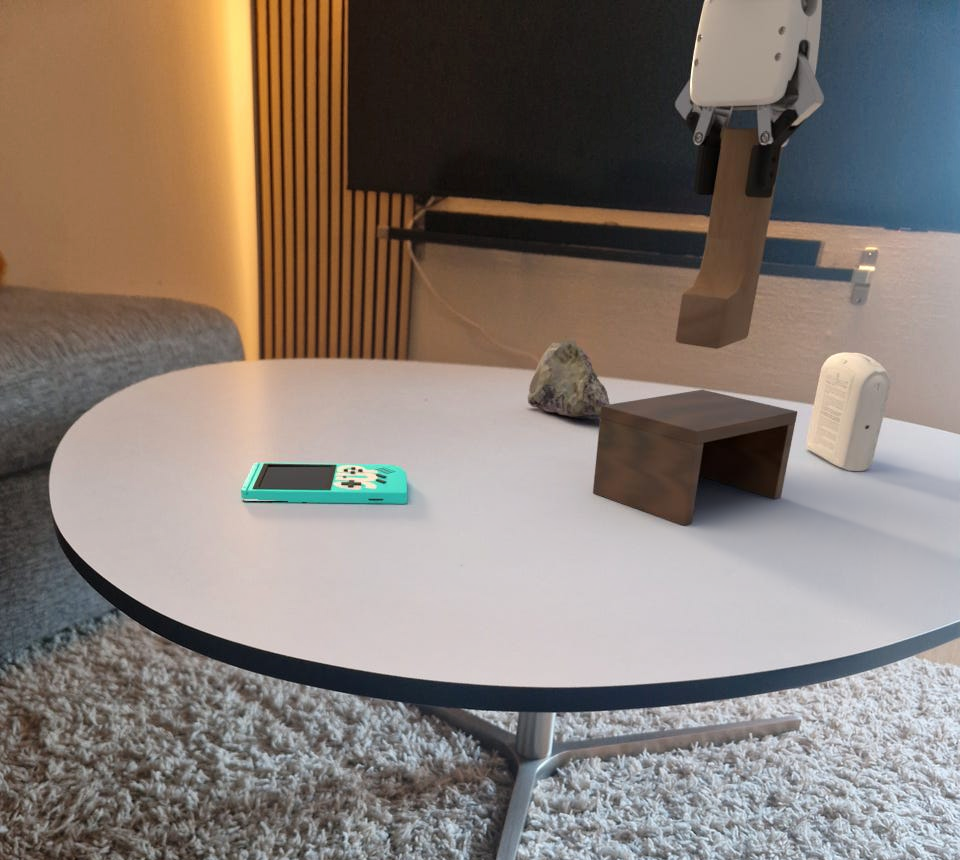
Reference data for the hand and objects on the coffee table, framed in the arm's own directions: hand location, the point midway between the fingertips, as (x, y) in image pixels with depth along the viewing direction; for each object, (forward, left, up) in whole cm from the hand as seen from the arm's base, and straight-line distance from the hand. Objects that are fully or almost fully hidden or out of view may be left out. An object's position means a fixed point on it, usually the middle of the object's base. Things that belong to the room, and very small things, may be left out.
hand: (732, 193), depth 84 cm
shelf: (0, 0, -28) cm, 28 cm away
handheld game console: (+22, +30, -29) cm, 47 cm away
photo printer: (-1, -27, -29) cm, 39 cm away
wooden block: (0, 0, -13) cm, 13 cm away
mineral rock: (+32, -14, -29) cm, 45 cm away
